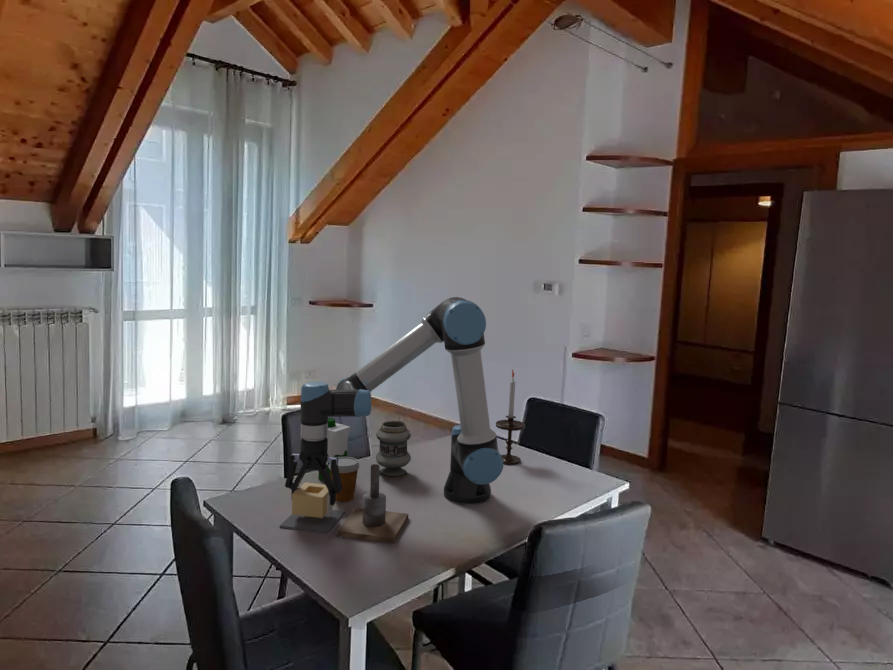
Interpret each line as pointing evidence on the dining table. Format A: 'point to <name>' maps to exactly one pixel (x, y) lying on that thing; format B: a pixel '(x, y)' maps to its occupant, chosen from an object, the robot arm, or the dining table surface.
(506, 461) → the candlestick
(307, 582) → the dining table surface
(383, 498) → the stand
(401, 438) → the apothecary jar
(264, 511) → the dining table surface
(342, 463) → the disposable coffee cup
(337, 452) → the milk carton
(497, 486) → the dining table surface
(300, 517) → the mat
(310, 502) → the collar
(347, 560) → the dining table surface
